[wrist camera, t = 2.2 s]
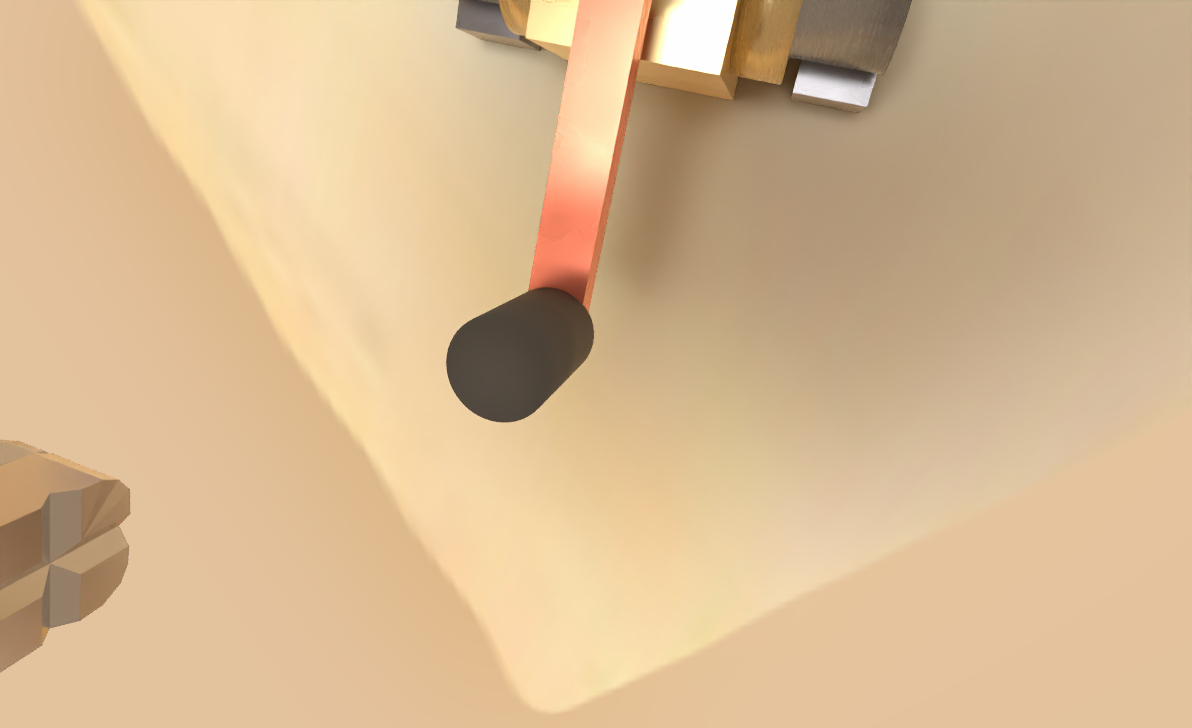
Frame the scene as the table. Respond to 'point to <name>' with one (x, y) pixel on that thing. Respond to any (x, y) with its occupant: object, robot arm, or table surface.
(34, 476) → the robot arm
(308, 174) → the table surface
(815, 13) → the pipe valve
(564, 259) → the lever
